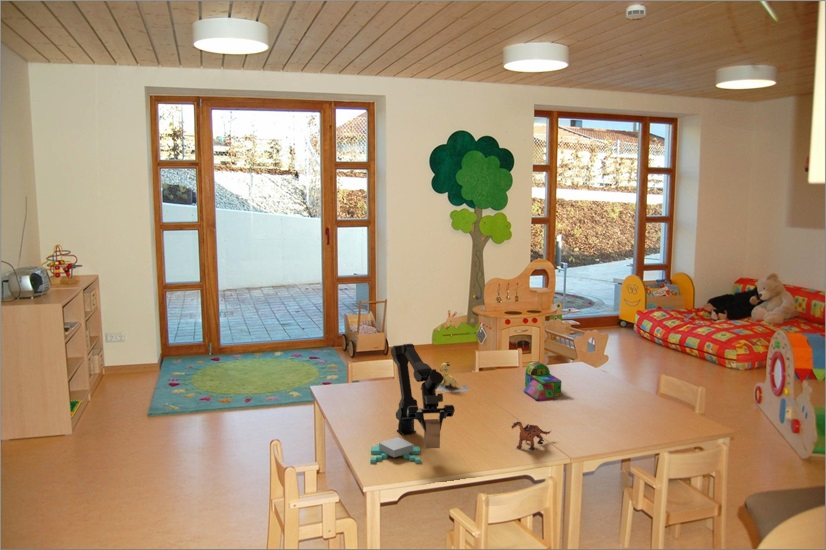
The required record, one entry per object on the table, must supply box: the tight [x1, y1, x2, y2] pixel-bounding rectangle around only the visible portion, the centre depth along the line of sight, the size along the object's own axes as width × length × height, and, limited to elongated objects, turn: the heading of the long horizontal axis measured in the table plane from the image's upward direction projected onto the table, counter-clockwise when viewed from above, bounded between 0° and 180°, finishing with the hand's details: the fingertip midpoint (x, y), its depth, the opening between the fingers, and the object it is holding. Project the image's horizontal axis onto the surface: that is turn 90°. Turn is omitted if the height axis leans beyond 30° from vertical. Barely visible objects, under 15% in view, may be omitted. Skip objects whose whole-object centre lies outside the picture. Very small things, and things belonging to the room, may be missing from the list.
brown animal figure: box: [510, 421, 552, 451], centre depth 278 cm, size 8×30×15 cm, turn 144°
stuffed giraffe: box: [435, 360, 471, 394], centre depth 359 cm, size 16×18×16 cm
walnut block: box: [423, 418, 441, 450], centre depth 262 cm, size 6×6×10 cm
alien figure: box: [369, 443, 422, 464], centre depth 271 cm, size 20×2×20 cm
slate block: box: [378, 436, 414, 458], centre depth 270 cm, size 10×10×3 cm
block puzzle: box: [523, 360, 562, 402], centre depth 353 cm, size 25×17×14 cm
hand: (432, 431), depth 260 cm, fingers closed on walnut block, 5 cm apart
